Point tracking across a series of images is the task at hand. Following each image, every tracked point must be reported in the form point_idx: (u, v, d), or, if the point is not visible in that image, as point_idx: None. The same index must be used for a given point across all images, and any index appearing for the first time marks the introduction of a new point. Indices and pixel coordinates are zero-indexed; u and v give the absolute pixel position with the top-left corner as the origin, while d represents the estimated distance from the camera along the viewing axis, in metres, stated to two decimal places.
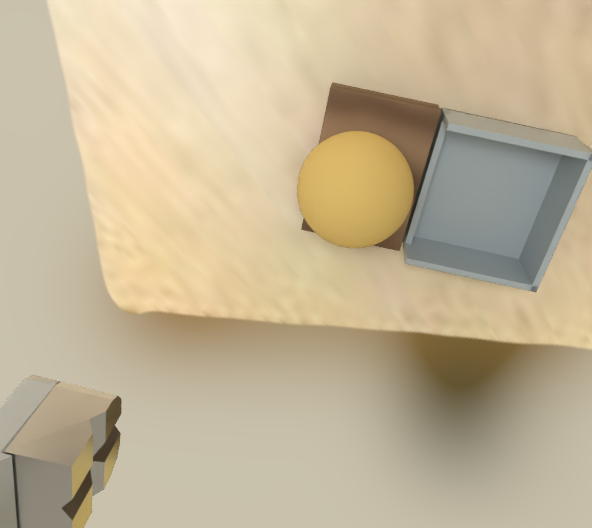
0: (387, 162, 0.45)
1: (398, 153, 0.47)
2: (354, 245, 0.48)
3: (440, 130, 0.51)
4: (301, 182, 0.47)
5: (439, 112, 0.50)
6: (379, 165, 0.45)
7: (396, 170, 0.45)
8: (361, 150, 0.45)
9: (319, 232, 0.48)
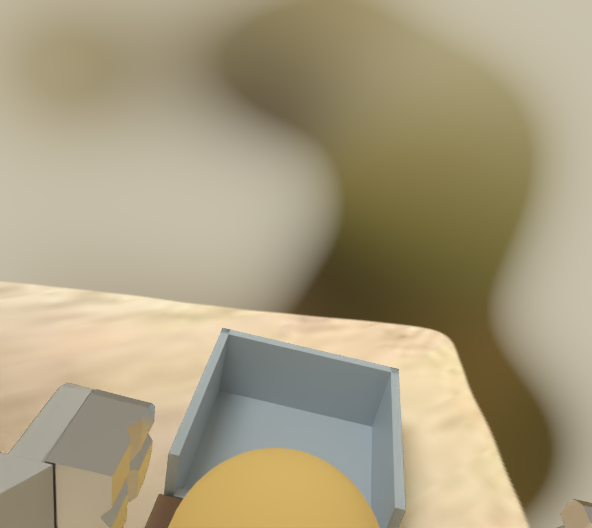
0: (208, 472, 0.26)
1: None
2: (372, 519, 0.24)
3: None
4: None
5: (159, 496, 0.33)
6: (211, 475, 0.25)
7: None
8: (183, 513, 0.24)
9: None
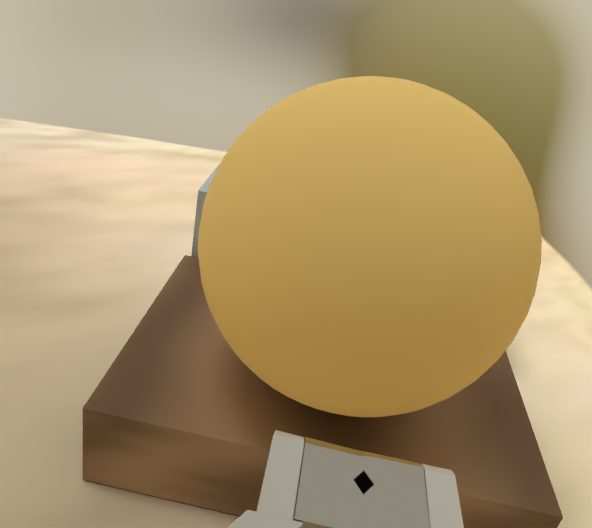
0: None
1: None
2: None
3: None
4: (363, 252, 0.12)
5: (185, 257, 0.25)
6: None
7: None
8: (235, 141, 0.16)
9: (520, 204, 0.14)
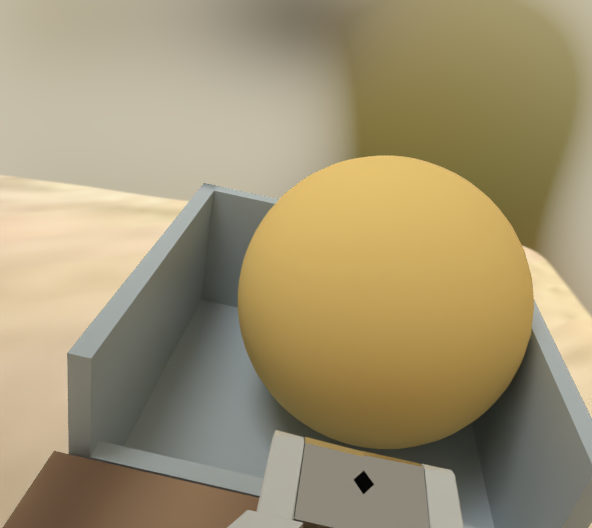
0: None
1: (243, 340, 0.19)
2: None
3: (122, 462, 0.15)
4: None
5: (54, 455, 0.15)
6: None
7: None
8: None
9: None
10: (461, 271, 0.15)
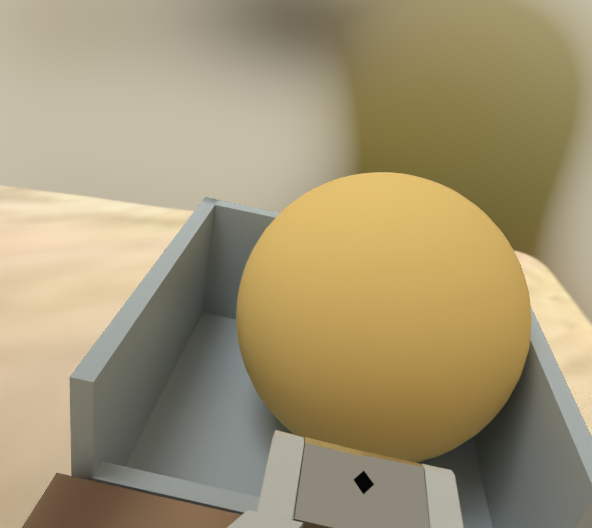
0: None
1: (243, 359, 0.20)
2: None
3: (125, 483, 0.16)
4: None
5: (57, 477, 0.15)
6: None
7: None
8: None
9: None
10: (455, 290, 0.15)
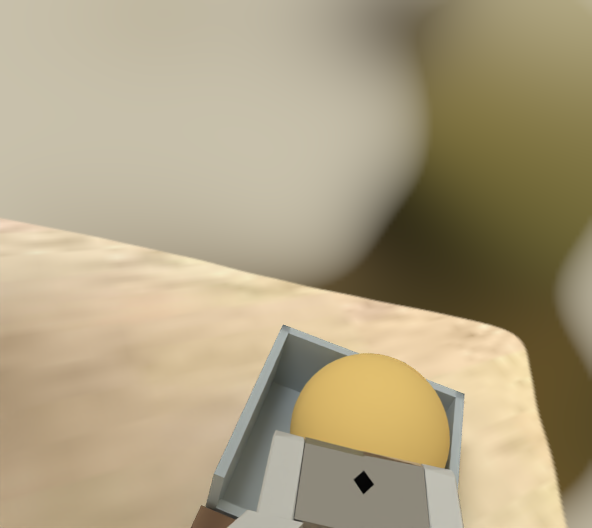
0: None
1: None
2: None
3: (230, 512, 0.33)
4: None
5: (201, 507, 0.33)
6: None
7: None
8: None
9: None
10: (396, 456, 0.31)
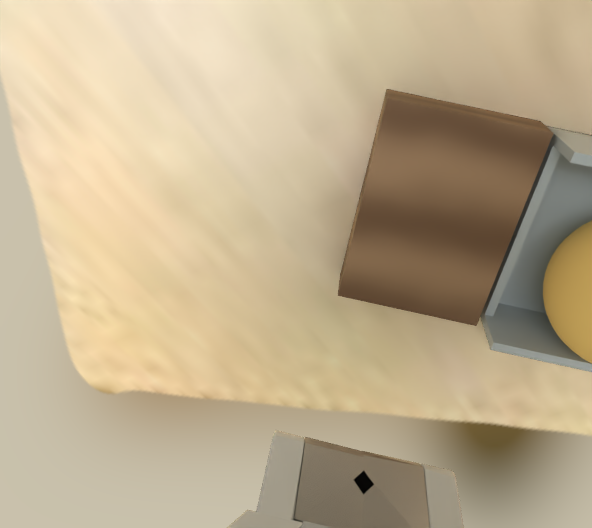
0: None
1: None
2: None
3: (548, 159, 0.35)
4: None
5: (550, 133, 0.34)
6: None
7: None
8: None
9: None
10: (586, 326, 0.33)
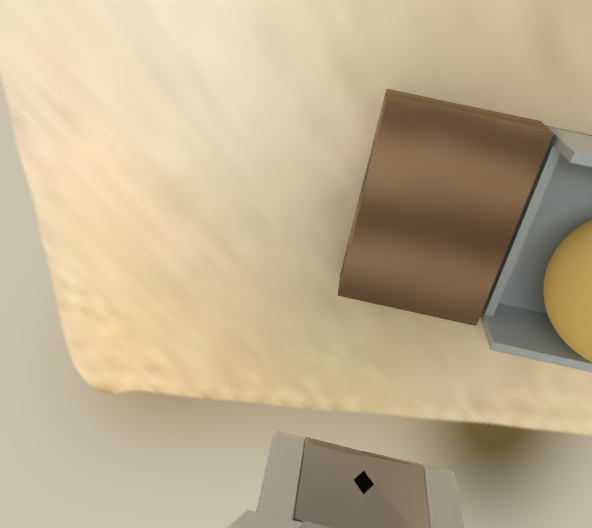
0: None
1: None
2: None
3: (548, 159, 0.35)
4: None
5: (550, 133, 0.34)
6: None
7: None
8: None
9: None
10: (587, 324, 0.33)
